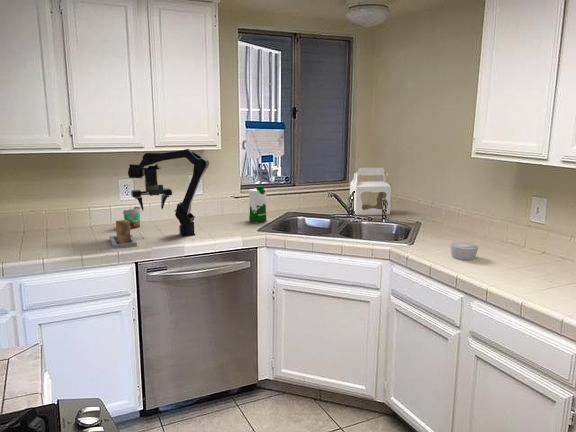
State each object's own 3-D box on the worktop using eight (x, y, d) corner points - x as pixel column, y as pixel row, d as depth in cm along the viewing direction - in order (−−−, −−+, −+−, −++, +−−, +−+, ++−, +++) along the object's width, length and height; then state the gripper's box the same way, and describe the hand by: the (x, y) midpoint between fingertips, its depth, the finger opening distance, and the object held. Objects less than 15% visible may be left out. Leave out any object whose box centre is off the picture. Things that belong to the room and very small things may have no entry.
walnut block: (126, 243, 224) (125, 219, 222) (130, 245, 220) (129, 221, 218) (117, 244, 221) (115, 221, 219) (121, 246, 217) (119, 222, 215)
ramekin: (471, 262, 197) (472, 250, 196) (444, 257, 205) (445, 245, 204) (481, 257, 206) (482, 245, 205) (455, 252, 213) (456, 240, 212)
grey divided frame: (131, 237, 234) (131, 231, 234) (137, 246, 219) (136, 239, 218) (109, 239, 230) (109, 233, 230) (113, 248, 215) (113, 241, 214)
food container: (135, 230, 250) (134, 210, 248) (124, 229, 251) (122, 210, 250) (146, 225, 262) (145, 206, 260) (136, 224, 263) (135, 206, 261)
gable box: (382, 210, 311) (384, 166, 306) (390, 214, 298) (392, 168, 293) (348, 211, 307) (350, 166, 302) (355, 215, 295) (356, 168, 289)
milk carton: (256, 223, 269) (256, 187, 265) (246, 220, 275) (246, 185, 272) (268, 221, 275) (268, 186, 271) (258, 218, 281) (258, 184, 277)
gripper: (133, 181, 226) (135, 214, 229) (173, 179, 234) (175, 211, 237) (130, 178, 236) (131, 210, 239) (169, 177, 244) (170, 207, 247)
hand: (152, 210), depth 240 cm, fingers open, 9 cm apart
